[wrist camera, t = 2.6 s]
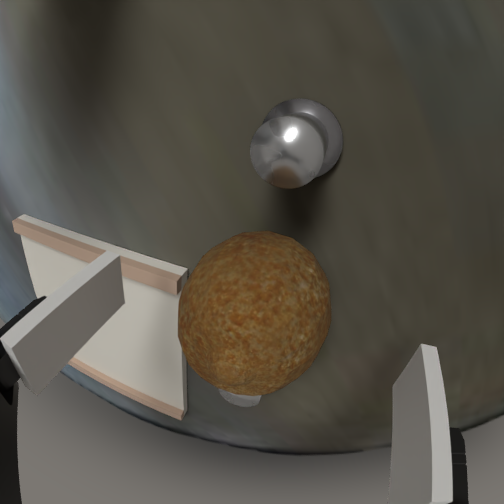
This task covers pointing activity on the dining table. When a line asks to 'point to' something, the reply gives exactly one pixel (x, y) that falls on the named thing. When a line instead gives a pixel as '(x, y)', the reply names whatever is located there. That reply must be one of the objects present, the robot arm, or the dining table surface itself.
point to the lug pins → (293, 158)
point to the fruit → (254, 313)
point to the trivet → (119, 315)
